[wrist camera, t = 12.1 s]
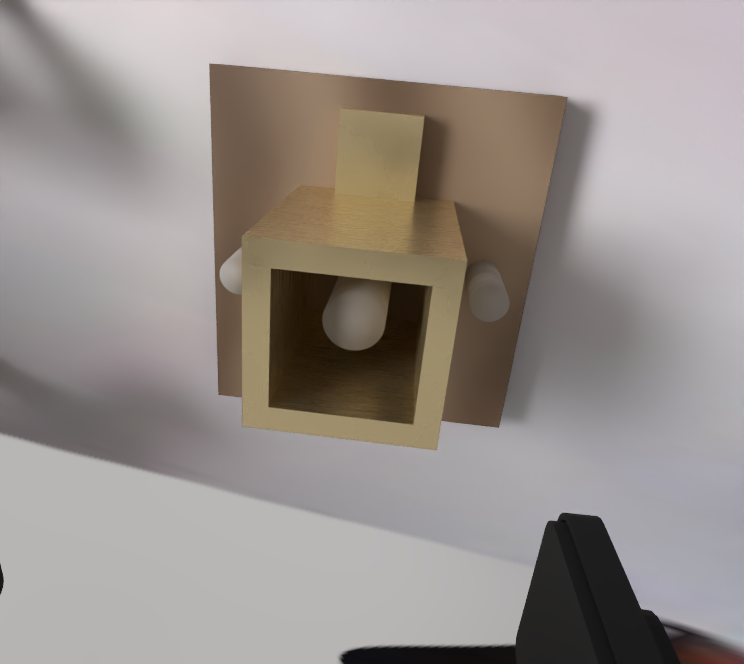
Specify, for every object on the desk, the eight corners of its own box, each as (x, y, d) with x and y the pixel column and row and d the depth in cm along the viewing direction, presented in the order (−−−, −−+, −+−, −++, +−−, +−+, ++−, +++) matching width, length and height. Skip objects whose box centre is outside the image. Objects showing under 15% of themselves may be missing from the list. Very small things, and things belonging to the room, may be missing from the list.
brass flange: (303, 102, 21) (241, 116, 14) (465, 119, 21) (486, 141, 14) (292, 384, 26) (242, 503, 19) (424, 400, 26) (424, 526, 19)
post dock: (228, 379, 28) (166, 476, 21) (222, 64, 23) (134, 59, 16) (495, 410, 28) (518, 519, 21) (558, 95, 22) (618, 104, 15)
